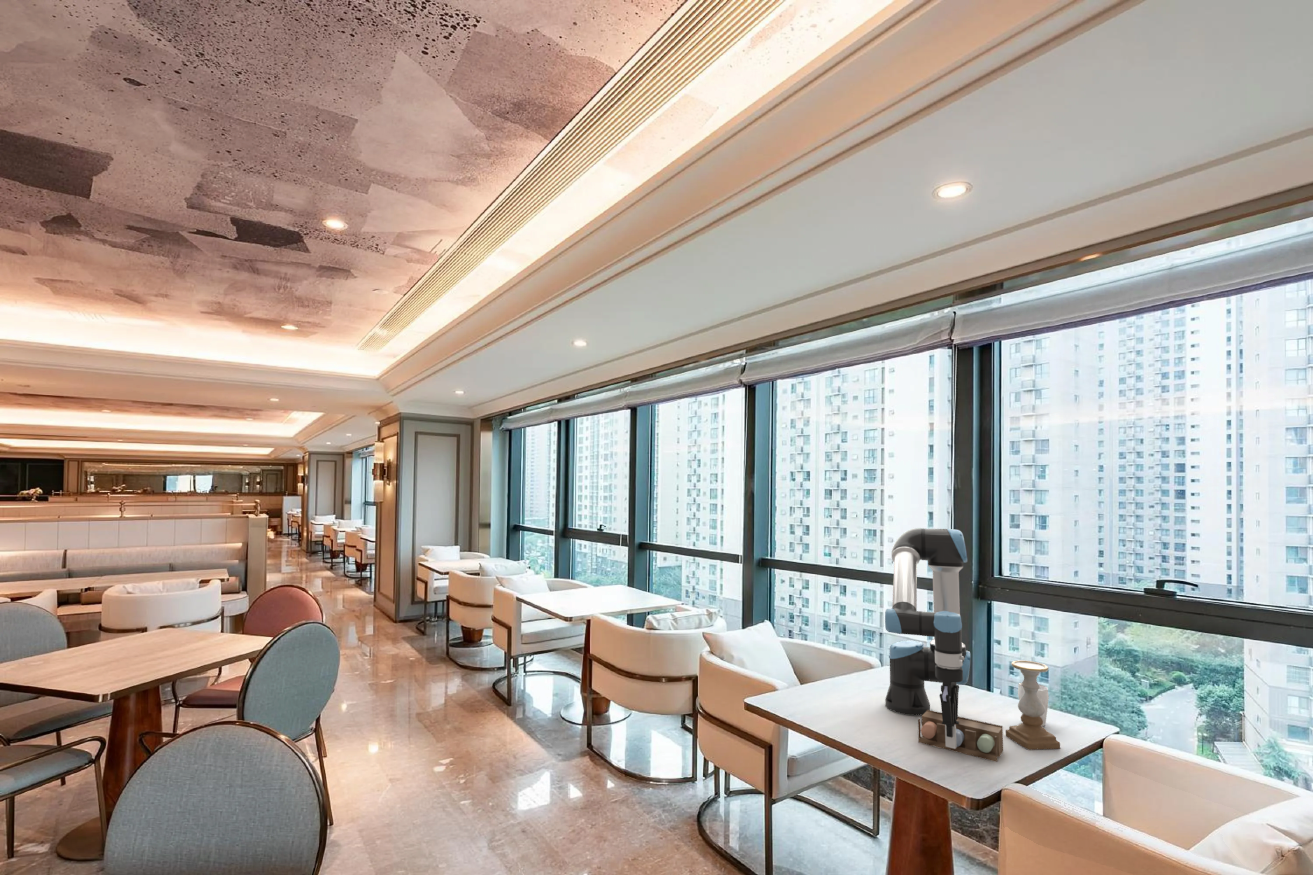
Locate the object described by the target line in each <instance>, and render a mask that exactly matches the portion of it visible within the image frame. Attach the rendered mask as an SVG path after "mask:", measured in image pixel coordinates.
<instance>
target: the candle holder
mask: <svg viewBox="0 0 1313 875" xmlns="http://www.w3.org/2000/svg"><path fill="white" fill-rule="evenodd" d="M1011 666H1012V667H1013V668H1014V669H1016V670H1019V672H1020V673H1021V674H1022V675H1023V680H1022V681H1021V682H1020V683H1021V685H1022V686H1023V688H1024V691H1025V693H1024V695H1023V697H1022V698H1021V699H1020V701H1018V703H1017V708H1018V710H1019V711H1020V712H1021V716H1020V721H1021V722H1022V723H1019V724H1018V725H1010V726H1009V728H1008V729H1006V730H1005V736H1006V737H1007V738H1008V739H1010V740H1012V741H1013V742H1014V743H1016V744H1018V745H1019V746H1021V747H1022V748H1024V749H1025V750H1028V751H1029V750H1030V751H1031V750H1032V751H1034V750H1035V751H1037V750H1041V751H1042V750H1060V749H1061V742H1060V741H1058V740H1057V737H1056V735H1054V734H1053V733H1051V732H1049V731H1048V730H1046V729H1045V728H1044V727H1043V726H1041V725H1042V724H1043V720H1042V718H1041V717H1040V716H1041V715H1043V714H1044V712H1045V709H1044V706H1043V704H1042V702H1041V701H1040V699H1039V698H1038V696H1037V691H1038V689H1039V688H1040V686H1039V683H1038V679H1037V678H1038V676H1039V675H1040V674H1041V673H1046V672H1048V671H1049V666H1048V665H1046V664H1045V663H1042V662H1037V661H1031V660H1023V659H1022V660H1014V661H1011ZM1022 713H1023V714H1022Z"/></svg>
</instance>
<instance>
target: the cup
mask: <svg viewBox="0 0 1313 875" xmlns="http://www.w3.org/2000/svg"><path fill="white" fill-rule="evenodd" d="M1021 683H1022V682H1020V683H1018V685H1017V687H1018V688H1017V695H1018V700H1019V701H1020V699H1021V698H1022V697H1023V695H1024V693H1025V691H1024V688H1023V686H1022V685H1021ZM1038 684H1039V683H1038ZM1039 686H1040V688H1039V689H1038V691H1037V696H1038V698H1039V699H1040V701H1041V702H1042V704H1043V706H1044V709H1045V712H1044V714H1043V715H1041V716H1040V717H1041V718H1042V720H1043V724H1042V725H1041V726H1042V727H1043V726H1046V723H1047V714H1048V710H1049V709H1048V708H1049V699H1050V697H1049V689H1048V688H1049V687H1047V686H1045V685H1043V684H1039ZM1019 701H1018V702H1019ZM1022 714H1023V713H1022V712H1021V715H1022Z"/></svg>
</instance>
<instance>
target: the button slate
mask: <svg viewBox="0 0 1313 875" xmlns="http://www.w3.org/2000/svg"><path fill="white" fill-rule="evenodd" d="M963 741H964V734H963V733H962V731H960V730H959V729H956V743H957V747H958V746H960V745H961V743H962V742H963Z"/></svg>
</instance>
